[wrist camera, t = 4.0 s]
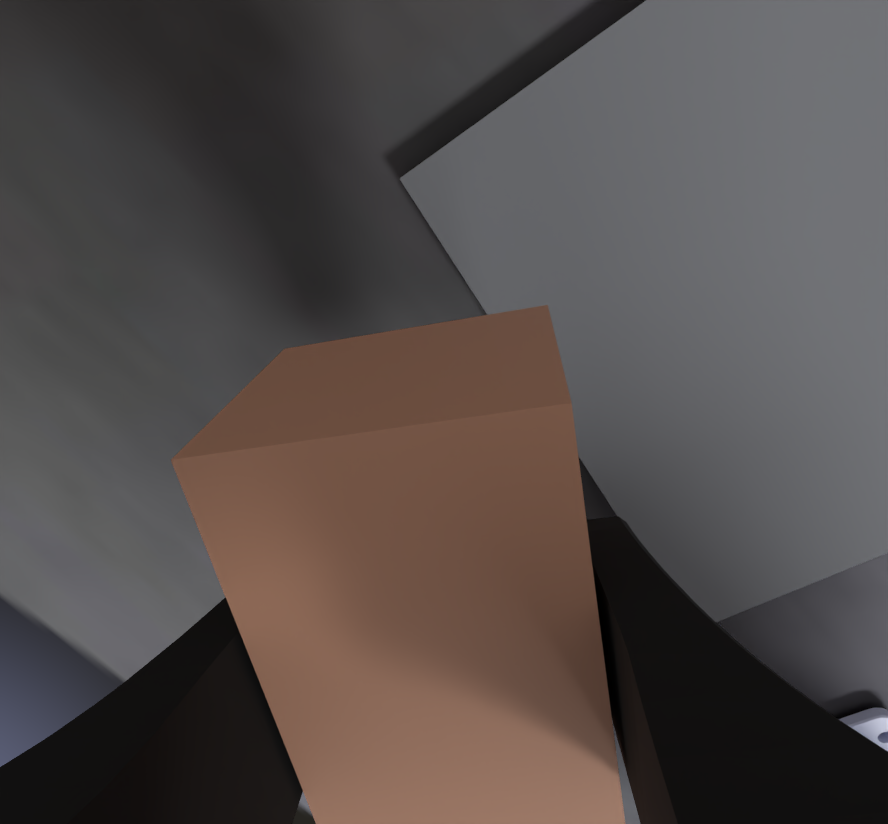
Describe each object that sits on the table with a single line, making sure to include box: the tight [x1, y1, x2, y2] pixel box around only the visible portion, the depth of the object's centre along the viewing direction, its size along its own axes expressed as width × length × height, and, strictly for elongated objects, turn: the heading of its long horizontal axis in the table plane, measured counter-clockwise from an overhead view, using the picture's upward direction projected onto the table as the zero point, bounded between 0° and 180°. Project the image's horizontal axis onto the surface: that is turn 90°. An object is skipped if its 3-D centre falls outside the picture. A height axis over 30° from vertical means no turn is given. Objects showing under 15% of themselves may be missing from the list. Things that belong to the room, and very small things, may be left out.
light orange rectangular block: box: [171, 305, 625, 824], centre depth 10 cm, size 8×4×4 cm, turn 11°
